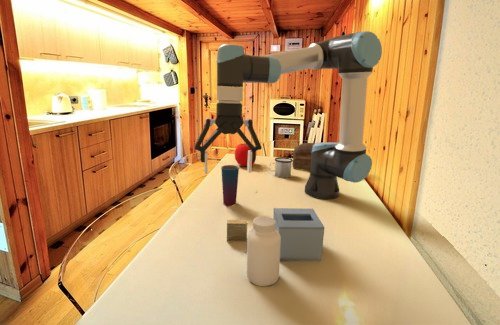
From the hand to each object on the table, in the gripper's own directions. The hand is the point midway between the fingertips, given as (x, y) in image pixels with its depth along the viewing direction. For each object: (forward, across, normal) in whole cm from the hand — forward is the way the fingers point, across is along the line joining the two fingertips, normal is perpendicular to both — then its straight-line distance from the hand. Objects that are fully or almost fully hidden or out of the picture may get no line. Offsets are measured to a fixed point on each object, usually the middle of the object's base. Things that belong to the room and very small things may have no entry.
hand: (227, 172), depth 88 cm
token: (+20, -2, +7) cm, 21 cm away
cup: (+20, -4, -21) cm, 29 cm away
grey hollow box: (+19, -18, +15) cm, 30 cm away
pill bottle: (+20, -5, +25) cm, 33 cm away
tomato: (+19, -23, -78) cm, 83 cm away
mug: (+19, -37, -55) cm, 69 cm away
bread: (+19, -64, -63) cm, 92 cm away
